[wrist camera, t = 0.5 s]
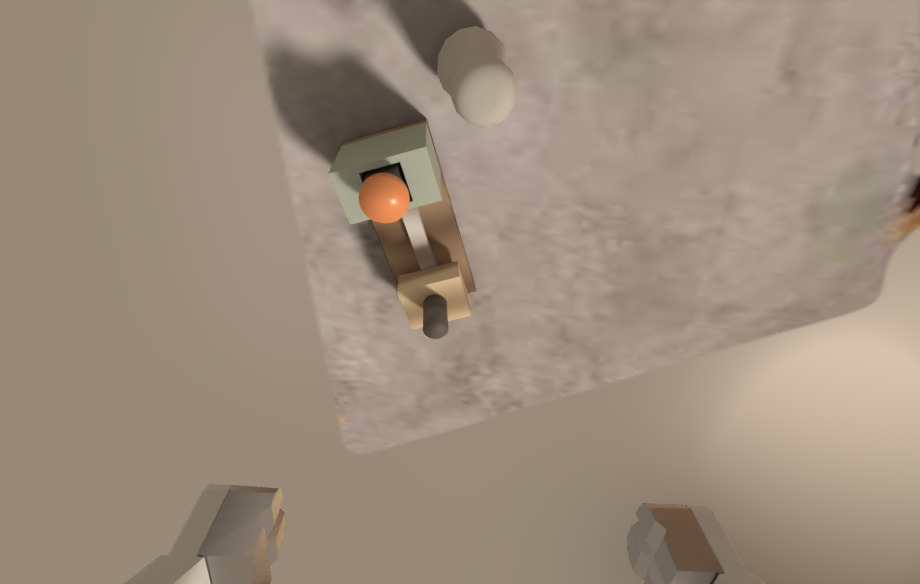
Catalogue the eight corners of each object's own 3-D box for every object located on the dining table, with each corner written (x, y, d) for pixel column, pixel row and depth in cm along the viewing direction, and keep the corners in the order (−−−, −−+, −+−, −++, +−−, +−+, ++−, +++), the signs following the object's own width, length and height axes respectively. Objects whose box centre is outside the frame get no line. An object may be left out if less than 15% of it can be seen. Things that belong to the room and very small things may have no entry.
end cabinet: (341, 145, 43) (328, 173, 37) (426, 121, 42) (426, 146, 37) (360, 191, 46) (350, 224, 40) (440, 170, 45) (442, 200, 39)
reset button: (358, 162, 39) (350, 184, 35) (402, 149, 39) (400, 170, 35) (374, 203, 41) (369, 228, 37) (416, 192, 41) (415, 216, 37)
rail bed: (343, 141, 44) (339, 149, 42) (426, 118, 43) (426, 125, 42) (407, 301, 55) (406, 313, 53) (475, 285, 54) (476, 296, 52)
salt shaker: (428, 85, 42) (429, 127, 31) (447, 13, 39) (454, 32, 28) (491, 105, 43) (512, 152, 32) (514, 36, 40) (545, 63, 29)
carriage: (398, 275, 50) (394, 316, 44) (457, 261, 49) (461, 300, 43) (413, 312, 53) (411, 355, 47) (469, 298, 52) (474, 340, 46)
